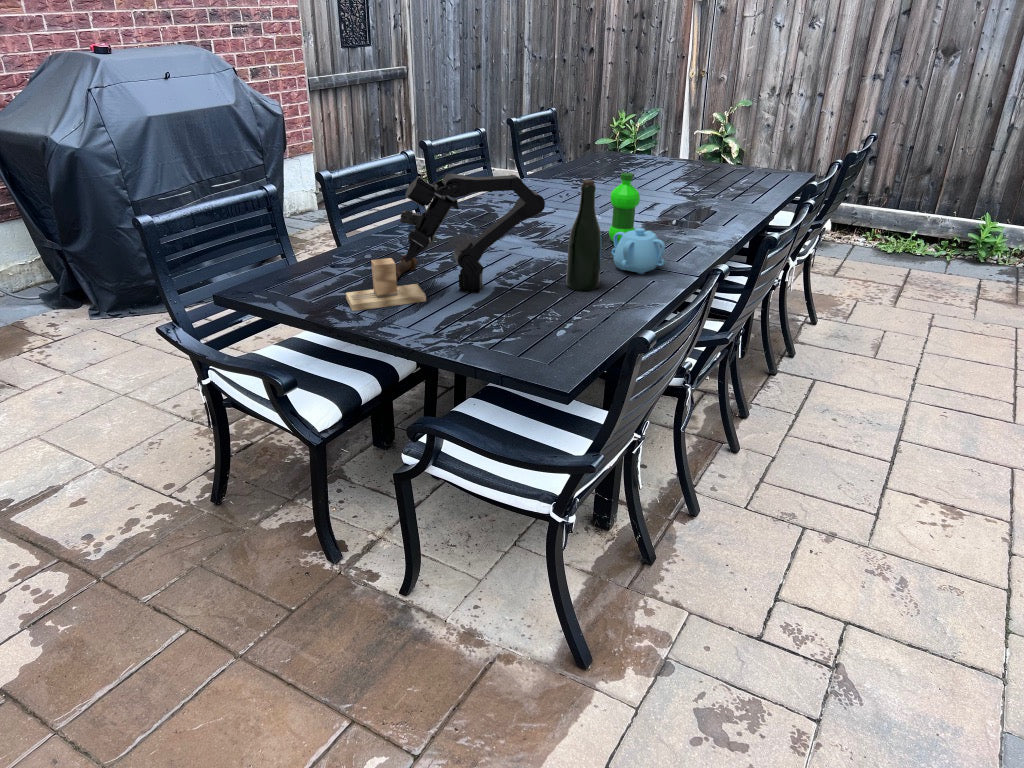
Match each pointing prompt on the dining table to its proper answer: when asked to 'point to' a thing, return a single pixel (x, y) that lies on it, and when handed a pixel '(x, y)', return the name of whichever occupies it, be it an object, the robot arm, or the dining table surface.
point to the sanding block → (384, 277)
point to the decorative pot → (638, 251)
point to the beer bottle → (585, 244)
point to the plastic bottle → (623, 206)
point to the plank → (385, 298)
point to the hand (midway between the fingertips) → (408, 259)
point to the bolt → (405, 266)
